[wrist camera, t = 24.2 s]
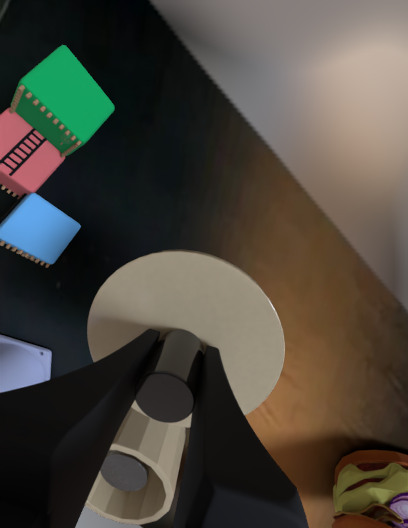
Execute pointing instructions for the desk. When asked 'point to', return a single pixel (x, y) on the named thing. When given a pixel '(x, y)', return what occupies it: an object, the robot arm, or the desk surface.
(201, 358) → the pot lid
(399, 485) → the cheeseburger
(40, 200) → the building blocks
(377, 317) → the desk surface
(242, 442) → the robot arm
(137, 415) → the beige hollow cylinder
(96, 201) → the desk surface
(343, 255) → the desk surface
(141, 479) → the tin
